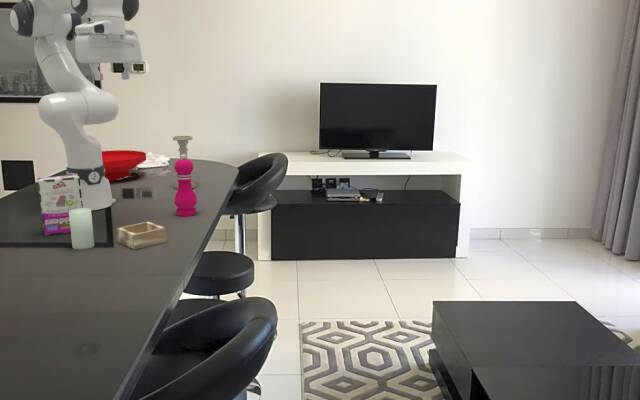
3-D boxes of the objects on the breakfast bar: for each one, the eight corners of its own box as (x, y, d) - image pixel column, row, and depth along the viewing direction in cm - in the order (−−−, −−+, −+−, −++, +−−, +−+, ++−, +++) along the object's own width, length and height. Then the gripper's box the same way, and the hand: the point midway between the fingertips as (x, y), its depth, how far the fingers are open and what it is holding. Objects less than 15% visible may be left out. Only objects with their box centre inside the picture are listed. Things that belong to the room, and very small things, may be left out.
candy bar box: (84, 226, 167) (79, 173, 163) (85, 231, 163) (80, 177, 159) (43, 231, 162) (36, 177, 158) (43, 236, 158) (37, 180, 154)
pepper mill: (191, 217, 178) (188, 156, 173) (171, 216, 179) (167, 155, 174) (201, 211, 185) (198, 152, 180) (181, 210, 186) (177, 152, 181)
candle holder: (201, 186, 222) (198, 136, 217) (185, 191, 214) (182, 139, 209) (185, 184, 226) (182, 135, 221) (169, 188, 219) (166, 137, 214)
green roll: (69, 246, 150) (65, 210, 147) (88, 241, 154) (85, 207, 151) (77, 250, 146) (74, 214, 144) (98, 246, 150) (94, 210, 148)
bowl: (162, 175, 244) (160, 152, 242) (111, 188, 217) (109, 163, 215) (110, 169, 256) (108, 148, 254) (55, 181, 229) (52, 157, 227)
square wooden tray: (117, 241, 154) (116, 228, 153) (148, 234, 160) (147, 221, 159) (135, 249, 147) (134, 235, 146) (166, 241, 154) (165, 228, 153)
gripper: (129, 31, 163) (133, 79, 166) (69, 26, 145) (74, 80, 148) (144, 30, 160) (148, 79, 163) (85, 26, 142) (90, 80, 146)
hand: (112, 79), depth 156 cm, fingers open, 8 cm apart
